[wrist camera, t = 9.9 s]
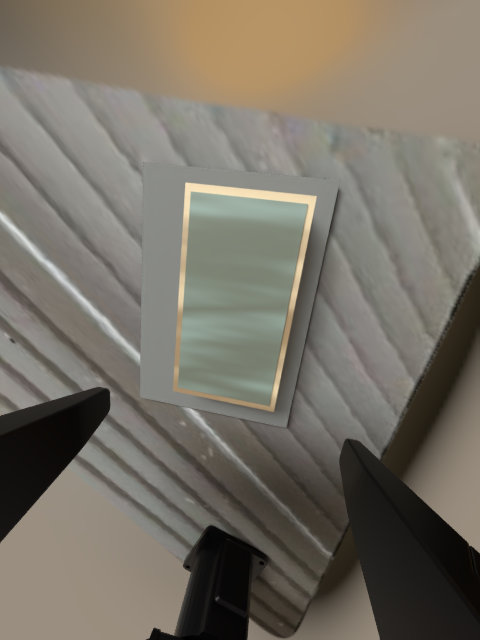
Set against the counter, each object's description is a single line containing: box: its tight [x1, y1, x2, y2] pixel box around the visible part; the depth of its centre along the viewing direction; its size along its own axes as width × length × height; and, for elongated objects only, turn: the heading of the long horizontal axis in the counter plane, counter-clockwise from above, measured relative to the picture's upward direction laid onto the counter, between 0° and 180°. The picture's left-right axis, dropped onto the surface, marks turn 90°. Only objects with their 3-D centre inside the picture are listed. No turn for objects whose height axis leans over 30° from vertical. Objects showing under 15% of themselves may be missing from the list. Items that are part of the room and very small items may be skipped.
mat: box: [140, 162, 340, 428], centre depth 16 cm, size 17×12×1 cm
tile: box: [173, 182, 317, 412], centre depth 14 cm, size 3×6×12 cm
